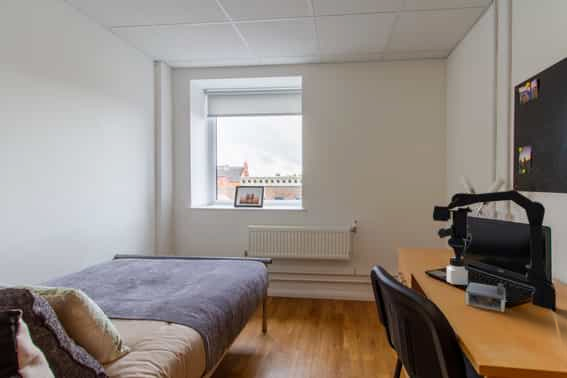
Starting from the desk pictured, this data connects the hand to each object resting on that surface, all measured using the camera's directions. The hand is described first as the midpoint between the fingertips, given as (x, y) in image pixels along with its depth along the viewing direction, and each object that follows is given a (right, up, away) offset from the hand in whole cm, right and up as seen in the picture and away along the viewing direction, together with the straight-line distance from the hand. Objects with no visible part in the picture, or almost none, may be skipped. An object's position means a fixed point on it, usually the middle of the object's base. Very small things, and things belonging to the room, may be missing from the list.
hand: (460, 258), depth 137 cm
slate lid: (+2, -10, -13) cm, 17 cm away
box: (+3, -15, -13) cm, 20 cm away
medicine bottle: (+5, -14, +12) cm, 19 cm away
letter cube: (+2, -14, -14) cm, 20 cm away
